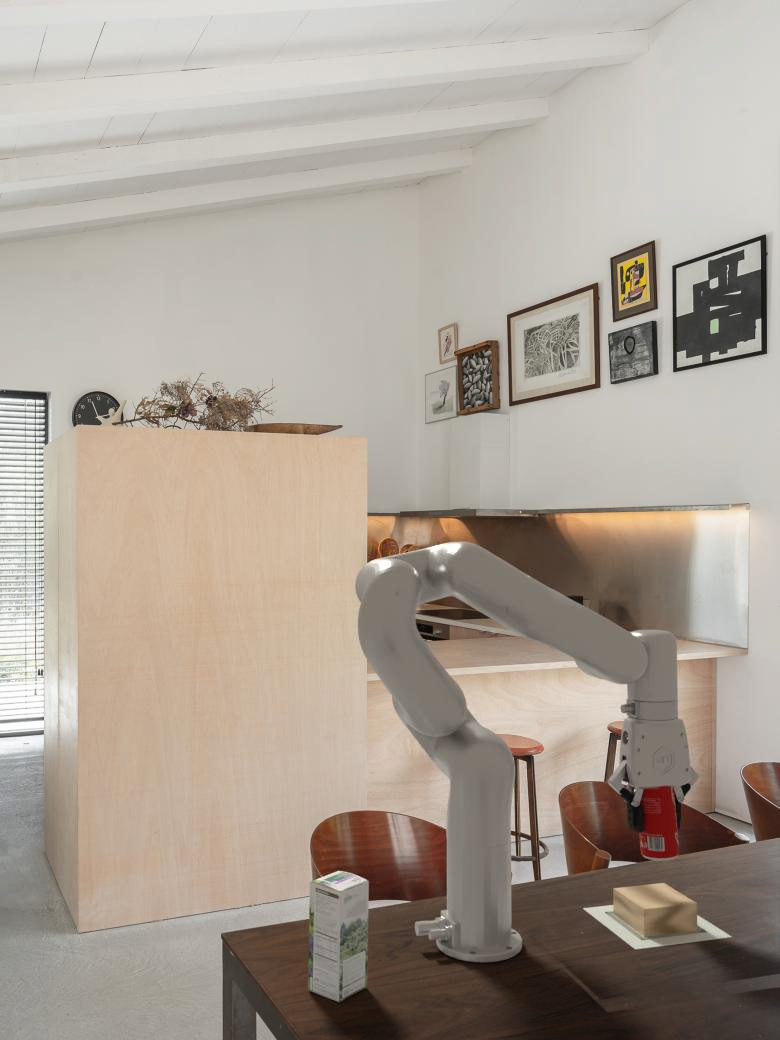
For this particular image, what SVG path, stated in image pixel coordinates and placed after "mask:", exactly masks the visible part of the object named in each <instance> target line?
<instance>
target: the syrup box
mask: <svg viewBox="0 0 780 1040" xmlns="http://www.w3.org/2000/svg"><path fill="white" fill-rule="evenodd" d="M369 887H370V881H369V880H368V879H366V878H364V877H361V876H359V875H357V874H354V873H352V872H348V871H341V870H337V871H334V872H331V873H329V874H327V875H324V876H322V877H319V878H317V879H314V880H311V881H310V882H309V907H308V910H309V911H308V917H309V918H308V967H307V968H308V970H307V971H308V975H307V977H308V978H307V979H308V980H307V988H308V991H309V992H312V993H314V994H317V995H320V996H322V997H325V998H326V999H329V1000H333V1001H335V1002H338V1003H341V1002H343V1001H345V1000H346V999H348V998H350V997H351V996H354V995H355V994H357V993H358V992H361V991H363V990H364V989H367V987H368V966H369V965H368V963H369V961H368V960H369V959H368V957H369V956H368V954H369V953H368V952H369V896H370V895H369V894H370V893H369V890H370V888H369Z"/></svg>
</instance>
